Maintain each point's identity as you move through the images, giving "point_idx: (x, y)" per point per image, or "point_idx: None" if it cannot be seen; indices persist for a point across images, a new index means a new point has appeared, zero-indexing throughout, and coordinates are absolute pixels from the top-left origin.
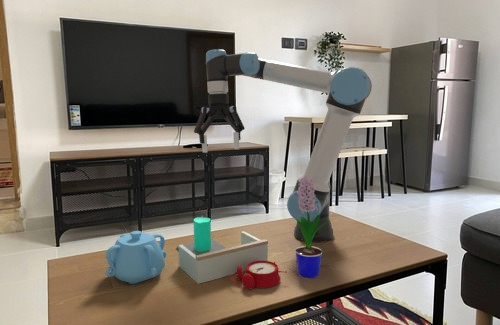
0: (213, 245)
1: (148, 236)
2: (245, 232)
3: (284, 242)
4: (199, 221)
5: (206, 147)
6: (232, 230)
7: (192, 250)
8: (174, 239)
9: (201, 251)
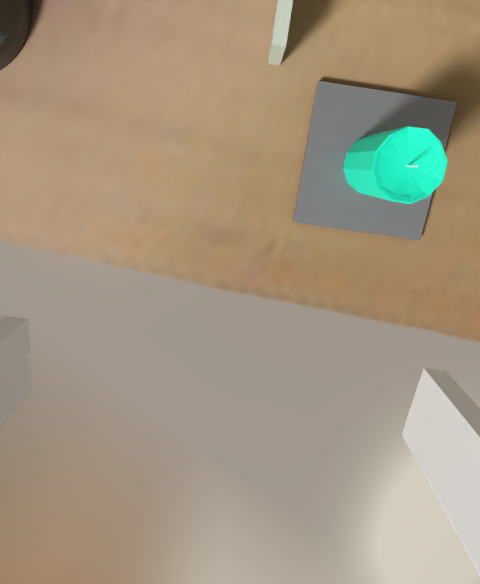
0: (330, 162)
1: None
2: (277, 26)
3: (100, 19)
4: (421, 166)
5: (461, 401)
6: (174, 257)
7: None
8: (373, 312)
9: None
